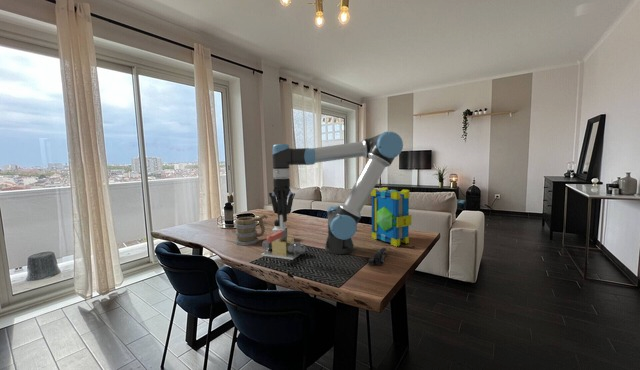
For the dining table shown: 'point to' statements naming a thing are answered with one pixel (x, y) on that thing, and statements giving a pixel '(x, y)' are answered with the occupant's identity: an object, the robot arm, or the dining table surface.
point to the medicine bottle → (276, 226)
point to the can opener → (378, 257)
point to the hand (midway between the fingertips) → (282, 228)
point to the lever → (277, 236)
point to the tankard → (248, 230)
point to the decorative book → (390, 215)
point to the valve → (283, 249)
